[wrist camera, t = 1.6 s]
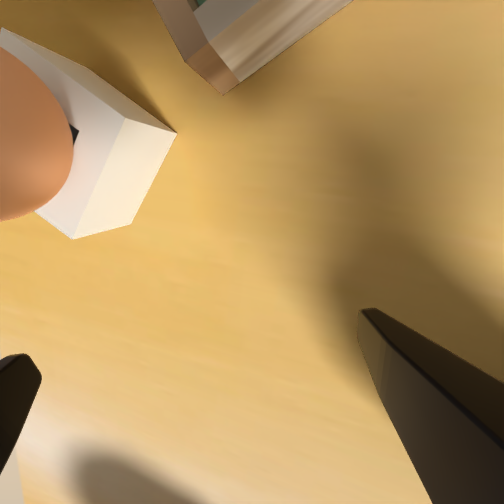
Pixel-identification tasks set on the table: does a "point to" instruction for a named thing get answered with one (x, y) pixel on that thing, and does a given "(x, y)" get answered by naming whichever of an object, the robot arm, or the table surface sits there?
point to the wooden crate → (239, 33)
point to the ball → (30, 140)
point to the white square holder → (96, 144)
